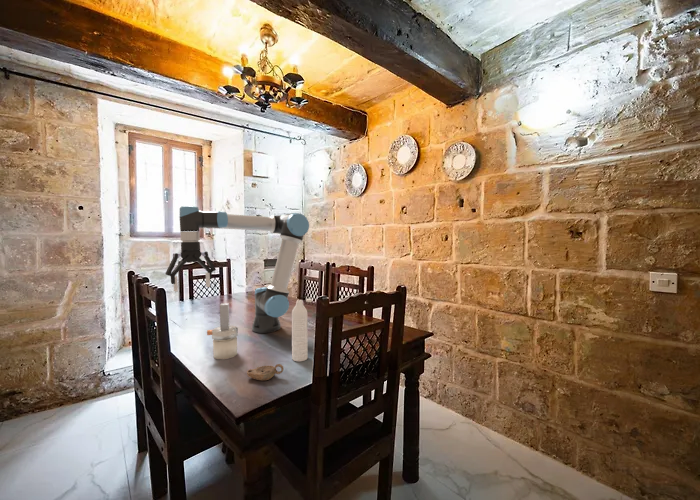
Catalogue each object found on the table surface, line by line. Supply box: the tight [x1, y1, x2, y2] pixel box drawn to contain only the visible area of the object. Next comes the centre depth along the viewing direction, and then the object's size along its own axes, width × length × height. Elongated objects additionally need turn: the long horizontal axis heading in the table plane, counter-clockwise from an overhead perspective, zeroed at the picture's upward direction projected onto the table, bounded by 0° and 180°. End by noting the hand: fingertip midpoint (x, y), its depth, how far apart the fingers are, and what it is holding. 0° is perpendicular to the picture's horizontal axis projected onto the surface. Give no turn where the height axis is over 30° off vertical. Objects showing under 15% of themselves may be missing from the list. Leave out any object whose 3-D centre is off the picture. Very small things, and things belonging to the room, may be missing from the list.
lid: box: [206, 302, 239, 340], centre depth 132 cm, size 12×10×14 cm
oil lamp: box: [246, 363, 284, 381], centre depth 113 cm, size 13×8×5 cm, turn 90°
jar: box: [212, 336, 238, 360], centre depth 133 cm, size 10×10×8 cm
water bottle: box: [291, 298, 313, 363], centre depth 129 cm, size 9×6×25 cm
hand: (192, 289), depth 137 cm, fingers open, 13 cm apart
